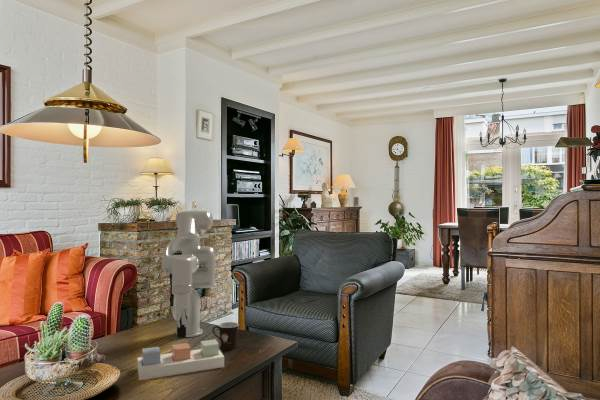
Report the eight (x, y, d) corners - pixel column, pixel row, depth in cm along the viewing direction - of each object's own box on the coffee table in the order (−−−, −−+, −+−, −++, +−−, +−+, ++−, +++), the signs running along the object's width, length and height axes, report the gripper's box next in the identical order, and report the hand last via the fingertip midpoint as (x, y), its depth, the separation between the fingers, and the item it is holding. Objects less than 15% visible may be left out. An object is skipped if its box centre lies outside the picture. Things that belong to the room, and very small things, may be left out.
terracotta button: (172, 357, 160) (172, 344, 160) (187, 355, 162) (187, 342, 162) (174, 363, 154) (174, 349, 155) (190, 360, 157) (190, 347, 157)
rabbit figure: (104, 360, 168) (64, 359, 163) (107, 346, 169) (67, 344, 163) (103, 366, 162) (60, 365, 157) (106, 351, 163) (64, 349, 158)
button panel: (137, 368, 157) (137, 357, 157) (217, 356, 170) (217, 346, 170) (139, 380, 146) (139, 369, 147) (224, 366, 159) (224, 356, 159)
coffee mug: (242, 347, 181) (242, 324, 181) (226, 352, 175) (226, 329, 175) (226, 341, 189) (226, 319, 189) (210, 345, 183) (211, 323, 183)
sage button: (200, 353, 164) (200, 341, 165) (215, 351, 167) (215, 339, 167) (203, 358, 159) (203, 346, 159) (218, 356, 162) (218, 343, 162)
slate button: (142, 361, 155) (142, 348, 155) (158, 359, 158) (158, 346, 158) (143, 367, 150) (143, 354, 150) (160, 365, 152) (160, 351, 152)
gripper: (169, 286, 164) (168, 332, 163) (174, 293, 150) (173, 343, 150) (188, 285, 167) (188, 330, 166) (195, 292, 153) (194, 341, 153)
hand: (181, 336), depth 158 cm, fingers closed
